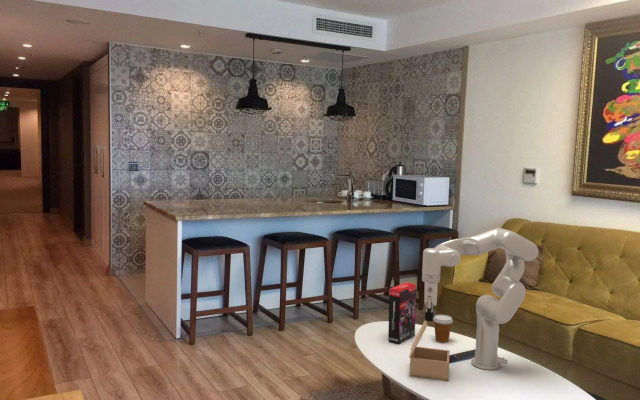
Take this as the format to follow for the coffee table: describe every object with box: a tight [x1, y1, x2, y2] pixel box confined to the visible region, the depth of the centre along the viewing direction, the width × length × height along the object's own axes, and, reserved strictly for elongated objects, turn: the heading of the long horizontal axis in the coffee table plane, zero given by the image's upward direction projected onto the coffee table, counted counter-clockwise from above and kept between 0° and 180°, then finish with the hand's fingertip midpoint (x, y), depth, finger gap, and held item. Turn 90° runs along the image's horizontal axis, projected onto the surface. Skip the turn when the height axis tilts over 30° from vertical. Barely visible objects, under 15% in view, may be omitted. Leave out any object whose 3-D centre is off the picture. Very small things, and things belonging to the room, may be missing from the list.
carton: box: [409, 346, 451, 382], centre depth 238 cm, size 16×14×8 cm
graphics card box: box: [387, 281, 417, 345], centre depth 275 cm, size 17×7×27 cm, turn 143°
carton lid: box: [408, 308, 437, 359], centre depth 237 cm, size 22×14×4 cm
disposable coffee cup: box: [433, 314, 454, 344], centre depth 275 cm, size 10×10×12 cm
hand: (429, 318), depth 236 cm, fingers closed on carton lid, 4 cm apart
